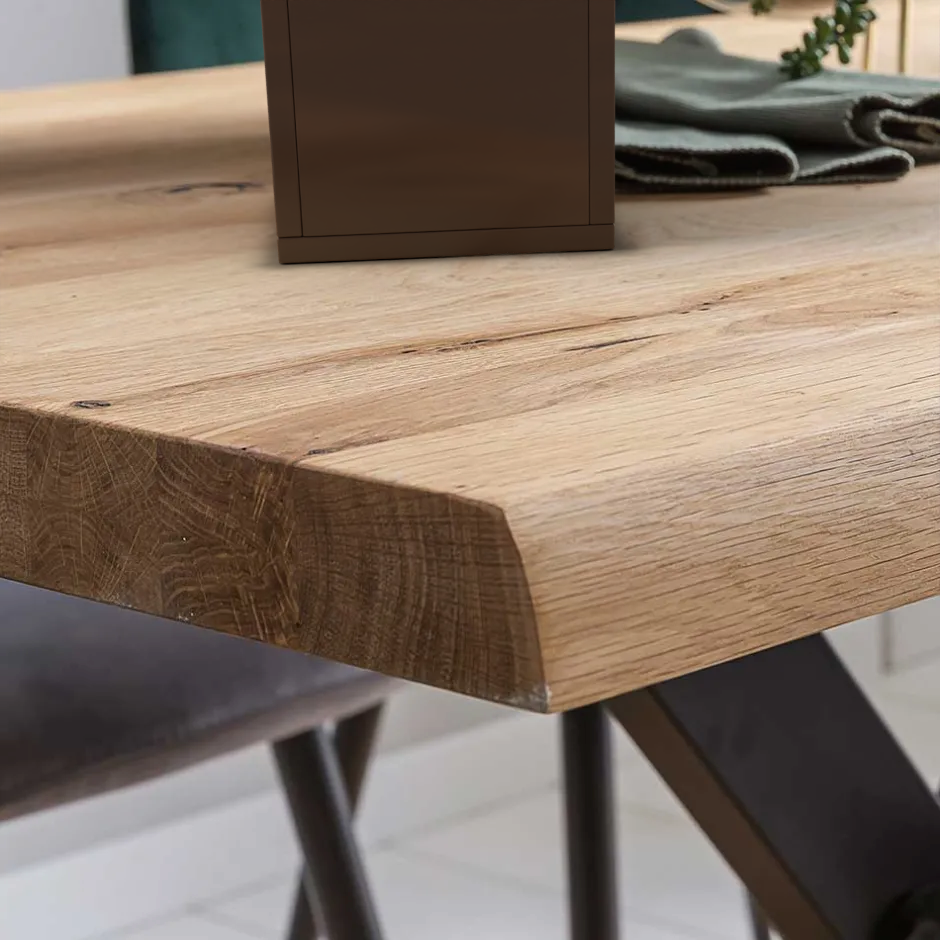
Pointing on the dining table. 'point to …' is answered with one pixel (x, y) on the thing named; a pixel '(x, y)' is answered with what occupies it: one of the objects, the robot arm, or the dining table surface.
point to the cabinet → (440, 127)
